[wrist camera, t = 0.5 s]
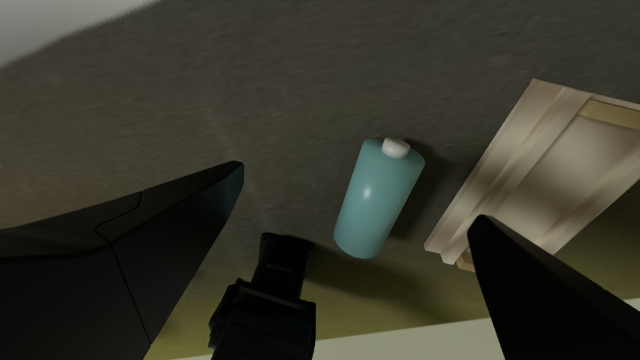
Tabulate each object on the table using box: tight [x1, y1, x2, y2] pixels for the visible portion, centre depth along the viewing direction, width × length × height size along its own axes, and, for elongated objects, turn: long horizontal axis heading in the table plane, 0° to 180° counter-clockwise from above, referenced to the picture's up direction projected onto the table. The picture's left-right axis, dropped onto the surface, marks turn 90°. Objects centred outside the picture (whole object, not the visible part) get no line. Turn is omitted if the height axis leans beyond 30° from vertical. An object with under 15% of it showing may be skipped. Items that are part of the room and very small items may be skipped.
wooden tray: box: [424, 78, 640, 272], centre depth 22 cm, size 18×12×3 cm, turn 168°
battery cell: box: [334, 137, 425, 259], centre depth 22 cm, size 11×5×5 cm, turn 168°
